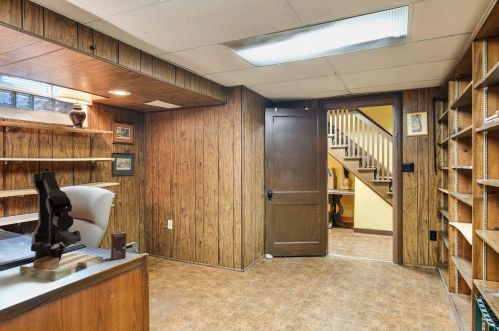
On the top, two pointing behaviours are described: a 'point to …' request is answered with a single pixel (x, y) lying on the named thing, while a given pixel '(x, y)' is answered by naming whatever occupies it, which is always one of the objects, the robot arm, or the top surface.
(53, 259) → the block
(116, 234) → the box
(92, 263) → the trap board
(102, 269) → the top surface
